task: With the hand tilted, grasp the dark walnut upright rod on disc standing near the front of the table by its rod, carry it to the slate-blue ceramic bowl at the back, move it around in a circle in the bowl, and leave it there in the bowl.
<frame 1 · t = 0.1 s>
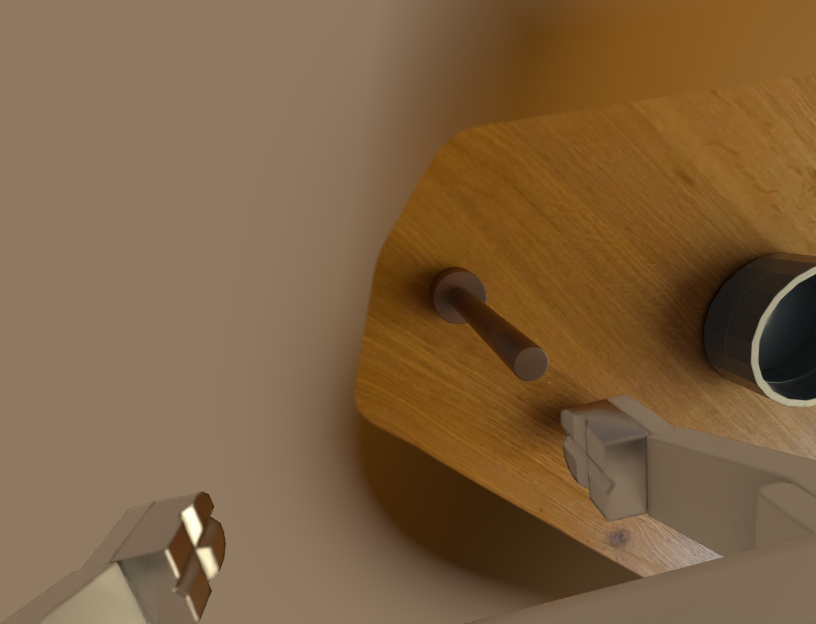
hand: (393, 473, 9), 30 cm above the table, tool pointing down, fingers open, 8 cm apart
upright rod on disc: (454, 292, 39), on the table
bowl: (761, 319, 43), on the table
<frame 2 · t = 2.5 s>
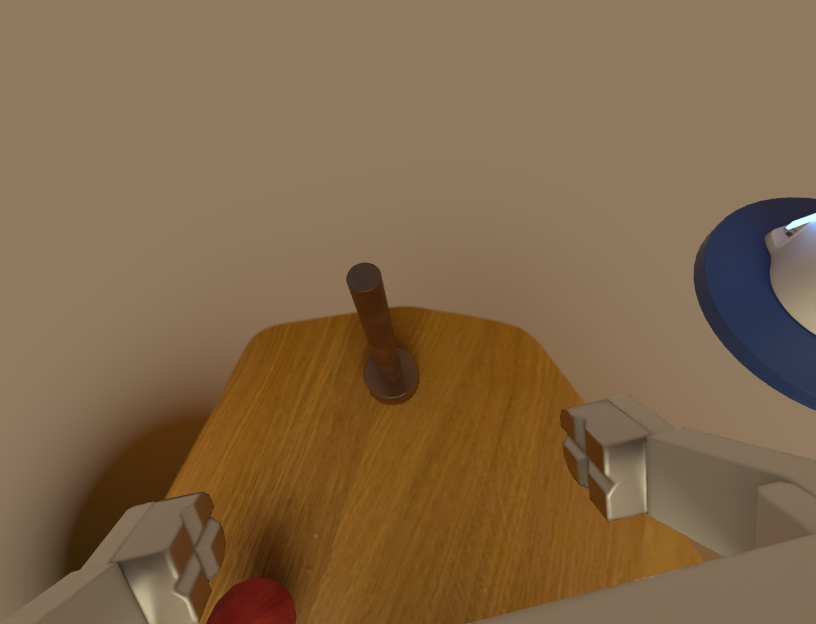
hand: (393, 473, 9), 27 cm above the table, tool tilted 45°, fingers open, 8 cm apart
onion: (271, 617, 31), on the table
upright rod on disc: (393, 379, 39), on the table
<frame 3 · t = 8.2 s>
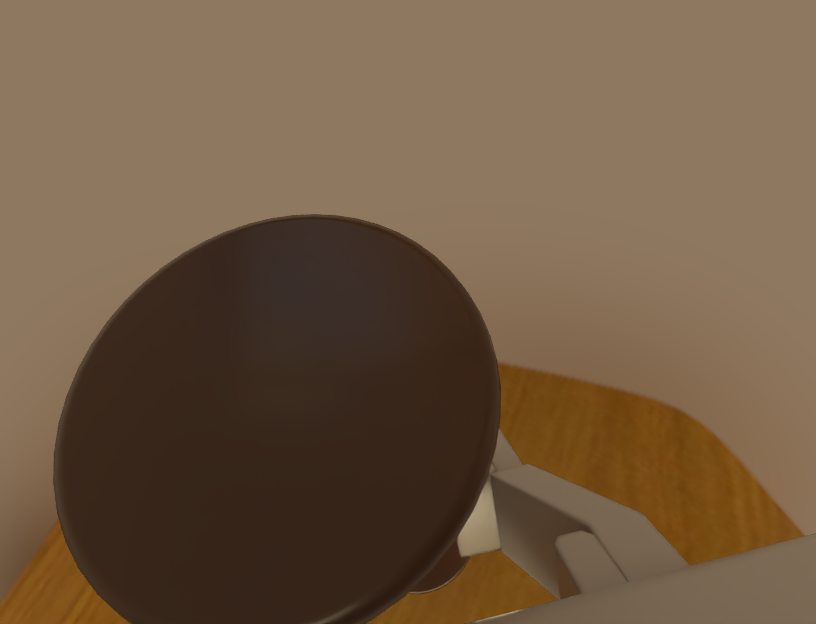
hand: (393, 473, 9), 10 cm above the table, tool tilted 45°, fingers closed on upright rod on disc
upright rod on disc: (416, 519, 18), on the table, touching gripper
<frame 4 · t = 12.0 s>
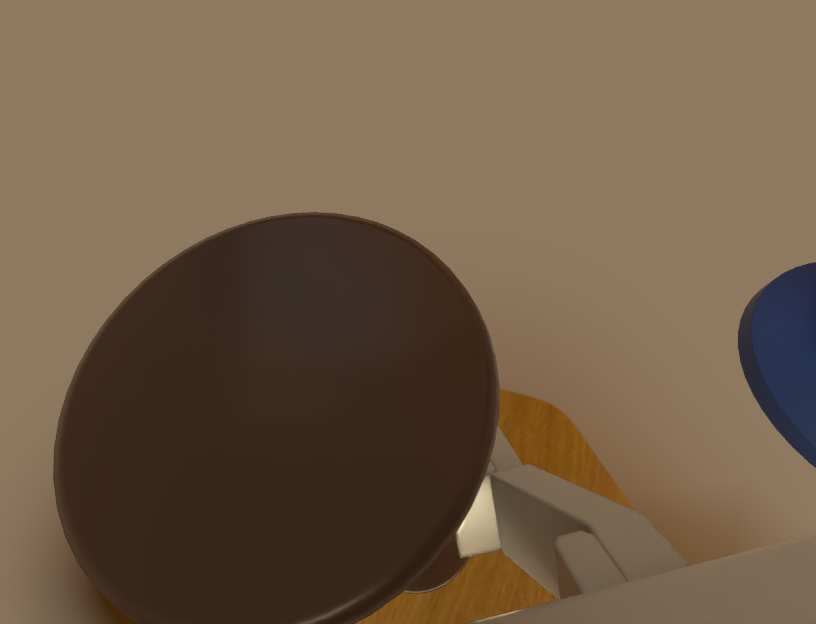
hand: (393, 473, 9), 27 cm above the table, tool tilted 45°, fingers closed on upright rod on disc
upright rod on disc: (416, 519, 18), point 17 cm above the table, touching gripper
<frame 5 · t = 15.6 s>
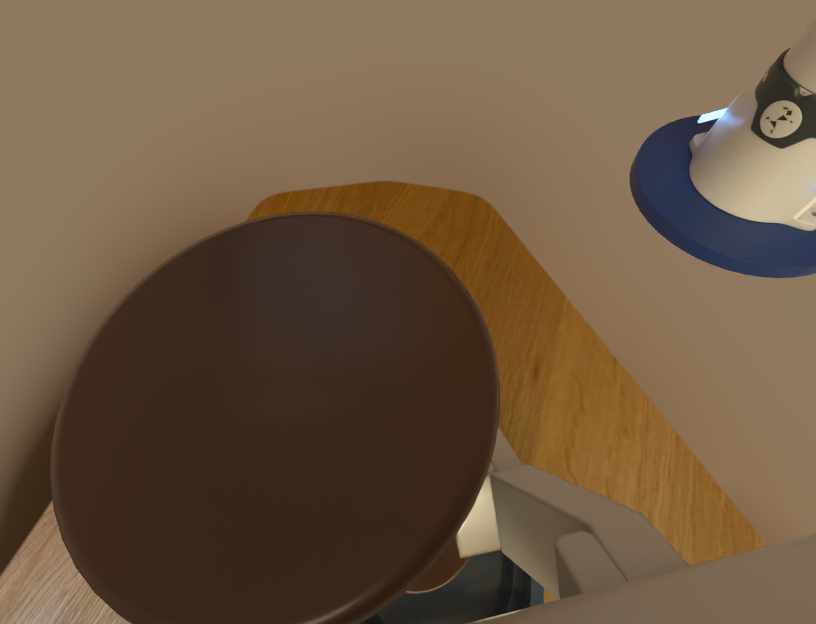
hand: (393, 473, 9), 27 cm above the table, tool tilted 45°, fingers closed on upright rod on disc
upright rod on disc: (416, 519, 18), point 17 cm above the table, touching gripper
bowl: (430, 557, 31), on the table
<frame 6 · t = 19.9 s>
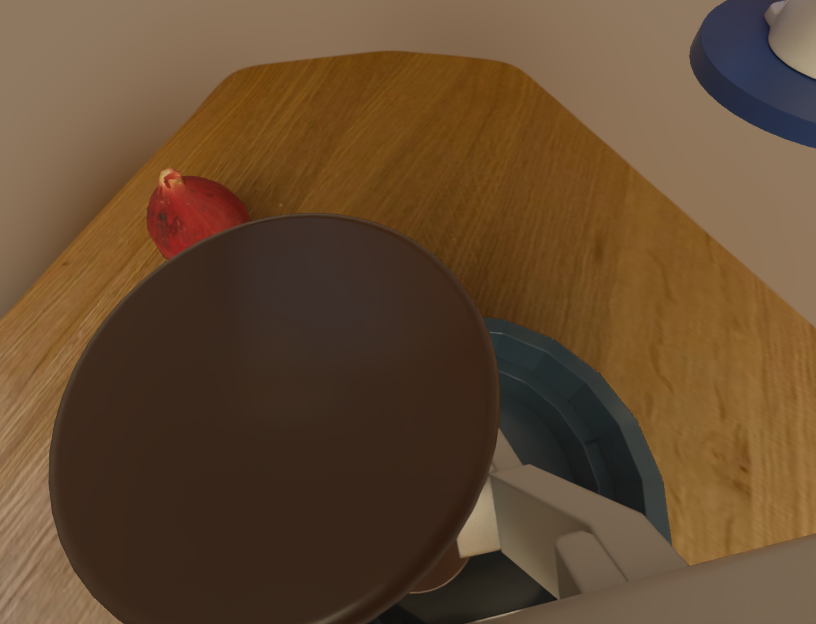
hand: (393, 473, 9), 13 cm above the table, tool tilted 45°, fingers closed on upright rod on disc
onion: (228, 262, 29), on the table
upright rod on disc: (416, 519, 18), point 3 cm above the table, touching gripper
bowl: (458, 494, 21), on the table
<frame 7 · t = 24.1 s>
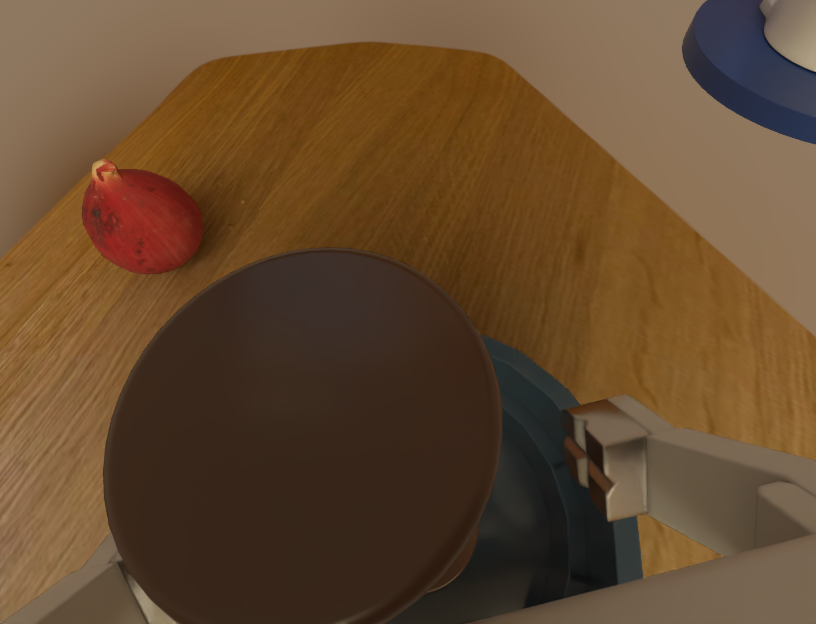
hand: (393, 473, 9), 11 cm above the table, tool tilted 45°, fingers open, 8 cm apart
onion: (183, 263, 27), on the table
upright rod on disc: (417, 520, 18), point 1 cm above the table, touching bowl
bowl: (416, 520, 19), on the table
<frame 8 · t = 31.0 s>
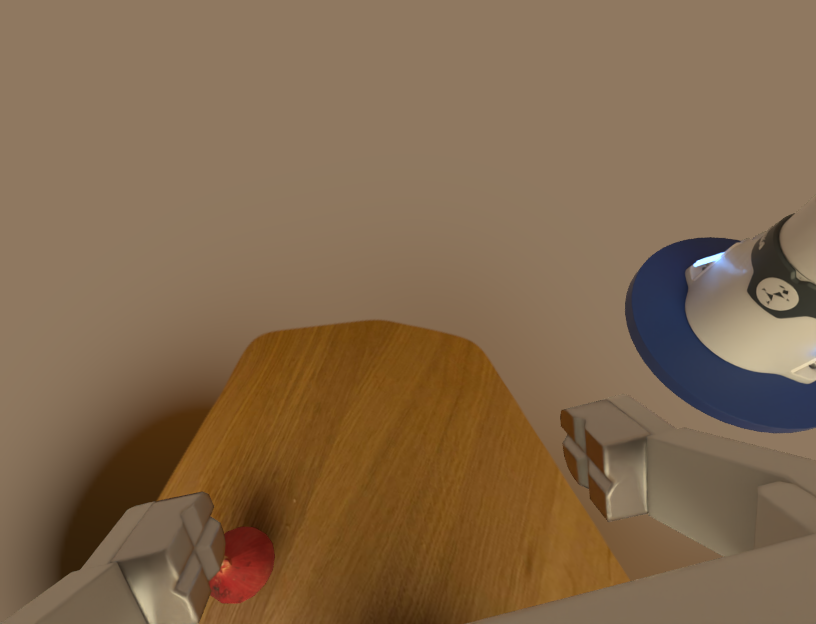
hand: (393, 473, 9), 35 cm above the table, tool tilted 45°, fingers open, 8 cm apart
onion: (256, 561, 39), on the table
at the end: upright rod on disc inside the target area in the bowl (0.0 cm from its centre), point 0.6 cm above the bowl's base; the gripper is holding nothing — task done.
